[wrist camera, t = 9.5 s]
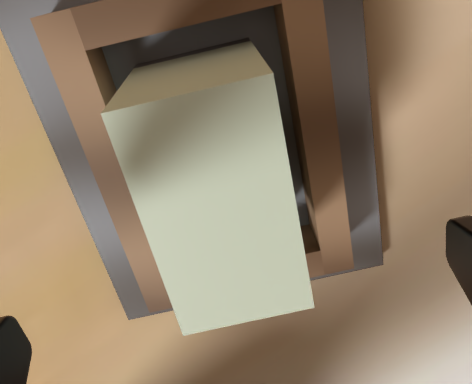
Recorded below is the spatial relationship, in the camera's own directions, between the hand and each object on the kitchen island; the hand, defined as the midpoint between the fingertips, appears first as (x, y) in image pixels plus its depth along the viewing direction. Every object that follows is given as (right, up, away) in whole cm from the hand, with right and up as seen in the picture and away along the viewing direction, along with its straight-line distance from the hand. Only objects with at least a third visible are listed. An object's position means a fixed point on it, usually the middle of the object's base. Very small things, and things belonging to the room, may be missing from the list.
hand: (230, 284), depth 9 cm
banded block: (-1, +4, +8) cm, 9 cm away
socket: (-1, +4, +8) cm, 9 cm away
